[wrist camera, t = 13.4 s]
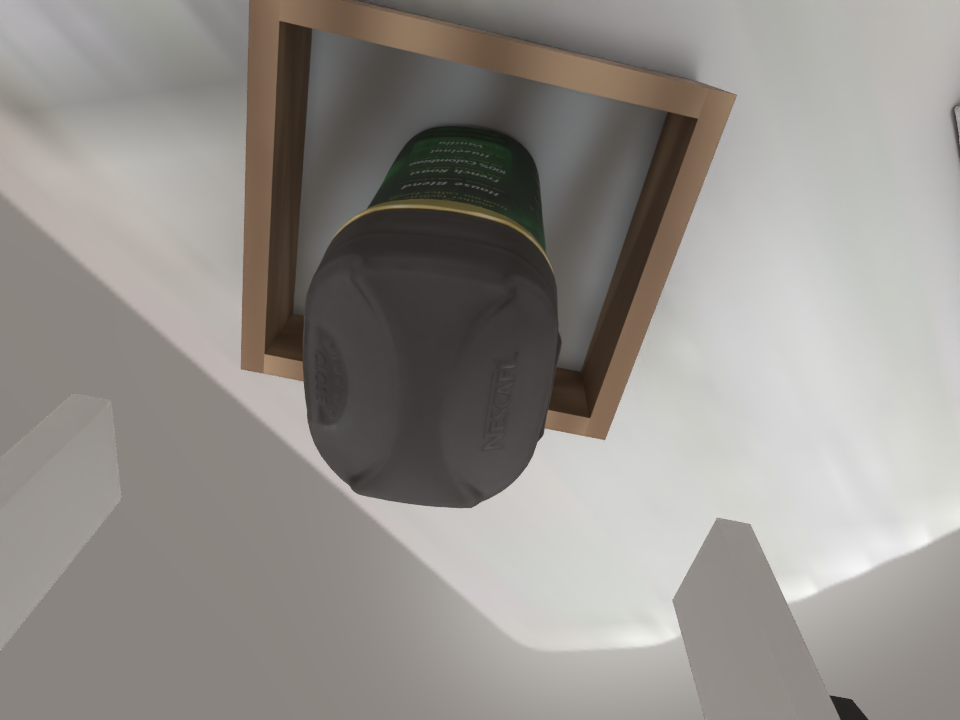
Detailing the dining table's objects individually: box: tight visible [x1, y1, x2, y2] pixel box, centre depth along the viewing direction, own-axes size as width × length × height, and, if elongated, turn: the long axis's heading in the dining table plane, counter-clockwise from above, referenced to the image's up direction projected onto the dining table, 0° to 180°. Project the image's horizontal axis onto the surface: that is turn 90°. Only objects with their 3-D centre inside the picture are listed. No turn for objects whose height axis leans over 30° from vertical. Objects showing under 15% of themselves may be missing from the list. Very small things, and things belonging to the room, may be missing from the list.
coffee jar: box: [303, 126, 562, 508], centre depth 26 cm, size 10×8×19 cm
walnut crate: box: [241, 0, 737, 440], centre depth 32 cm, size 20×18×6 cm
